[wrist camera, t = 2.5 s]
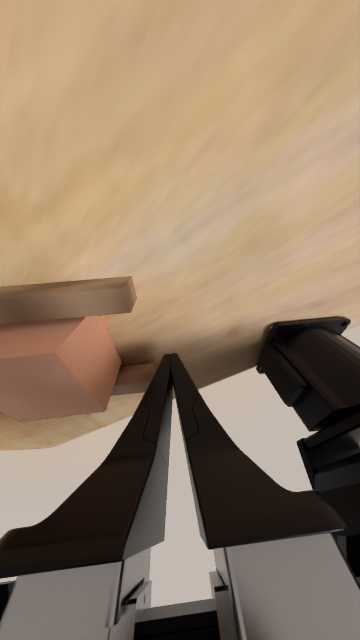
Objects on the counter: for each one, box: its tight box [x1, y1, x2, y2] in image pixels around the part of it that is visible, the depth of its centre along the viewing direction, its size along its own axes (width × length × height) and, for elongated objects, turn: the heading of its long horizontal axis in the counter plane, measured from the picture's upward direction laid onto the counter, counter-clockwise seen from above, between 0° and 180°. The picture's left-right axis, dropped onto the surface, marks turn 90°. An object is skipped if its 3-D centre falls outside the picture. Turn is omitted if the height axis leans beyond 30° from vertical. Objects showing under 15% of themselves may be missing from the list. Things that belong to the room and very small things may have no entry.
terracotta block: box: [0, 315, 122, 422], centre depth 10 cm, size 6×6×4 cm
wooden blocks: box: [0, 276, 156, 396], centre depth 11 cm, size 11×10×2 cm
